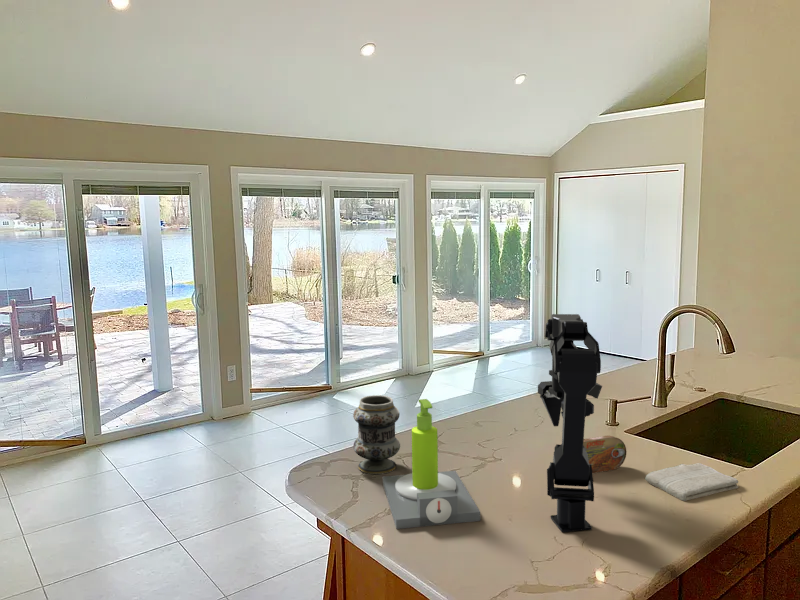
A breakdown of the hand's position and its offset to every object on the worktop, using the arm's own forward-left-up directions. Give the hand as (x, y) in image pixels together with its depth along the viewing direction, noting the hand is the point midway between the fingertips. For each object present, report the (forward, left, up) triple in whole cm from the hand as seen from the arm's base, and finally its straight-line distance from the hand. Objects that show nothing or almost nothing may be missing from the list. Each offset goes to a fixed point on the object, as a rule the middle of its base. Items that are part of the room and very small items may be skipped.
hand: (563, 432), depth 148 cm
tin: (+7, -12, -13) cm, 19 cm away
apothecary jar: (+20, +42, -13) cm, 48 cm away
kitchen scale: (-2, +33, -13) cm, 36 cm away
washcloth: (-6, -30, -14) cm, 33 cm away
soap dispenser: (0, +33, -10) cm, 35 cm away
